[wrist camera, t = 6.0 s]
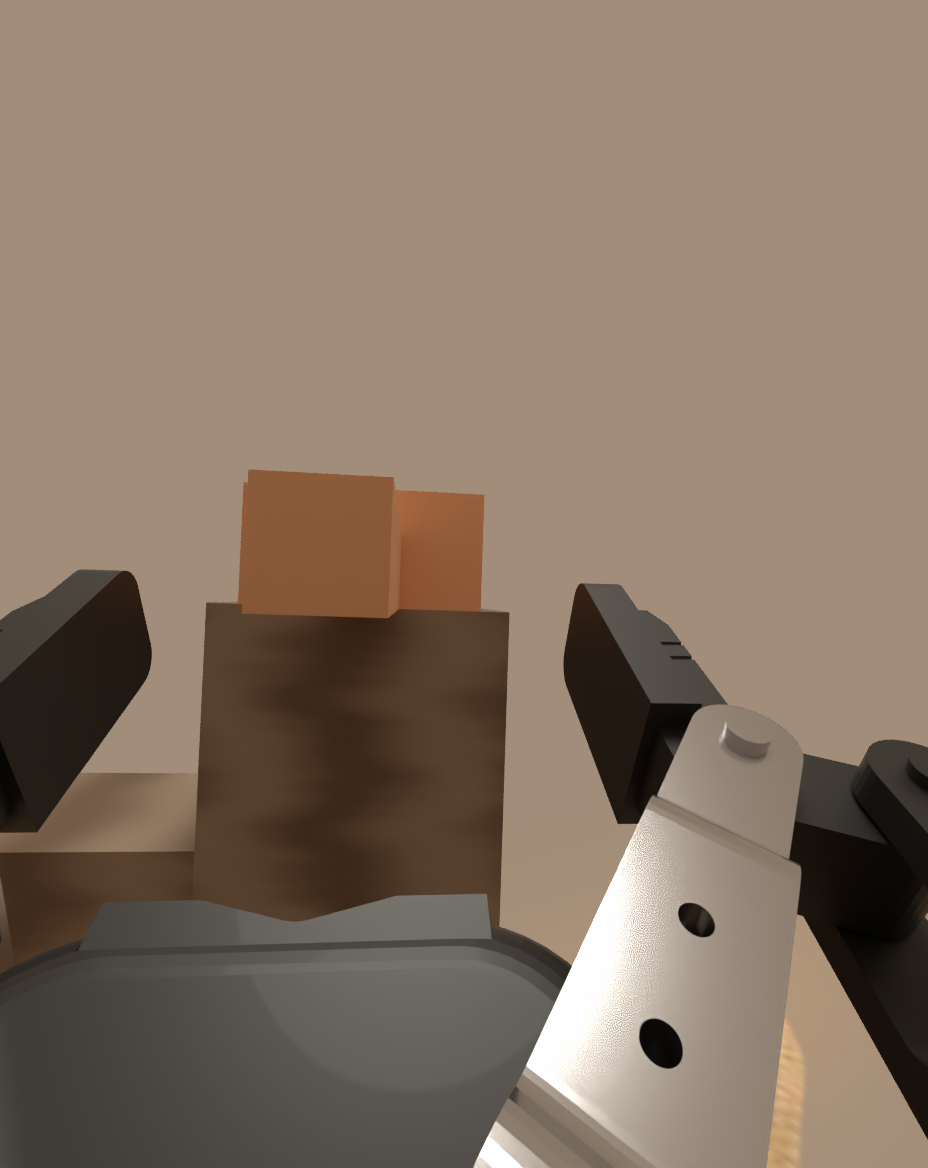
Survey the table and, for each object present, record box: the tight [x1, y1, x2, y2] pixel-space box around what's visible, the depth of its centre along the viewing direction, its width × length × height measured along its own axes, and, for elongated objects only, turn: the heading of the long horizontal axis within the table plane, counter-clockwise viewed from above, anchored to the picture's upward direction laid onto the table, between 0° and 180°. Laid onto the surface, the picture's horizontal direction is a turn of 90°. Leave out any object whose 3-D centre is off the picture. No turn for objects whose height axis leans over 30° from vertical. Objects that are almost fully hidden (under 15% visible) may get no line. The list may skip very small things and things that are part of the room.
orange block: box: [238, 470, 484, 618], centre depth 18 cm, size 8×17×4 cm, turn 5°
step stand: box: [0, 602, 509, 965], centre depth 22 cm, size 20×8×32 cm, turn 95°
